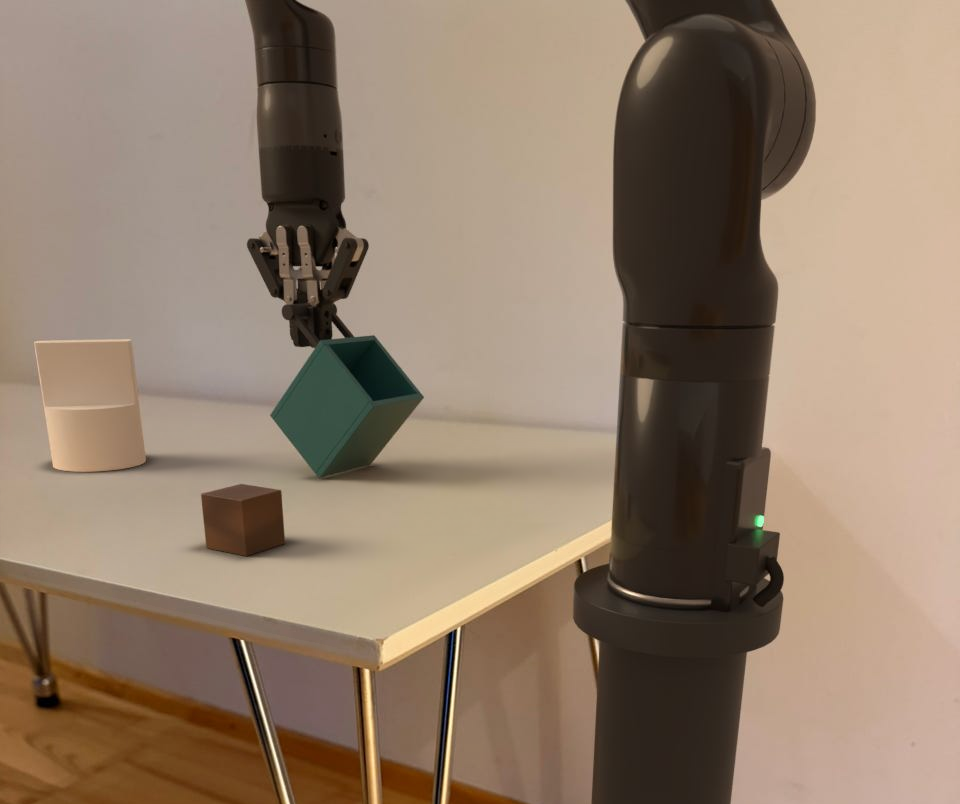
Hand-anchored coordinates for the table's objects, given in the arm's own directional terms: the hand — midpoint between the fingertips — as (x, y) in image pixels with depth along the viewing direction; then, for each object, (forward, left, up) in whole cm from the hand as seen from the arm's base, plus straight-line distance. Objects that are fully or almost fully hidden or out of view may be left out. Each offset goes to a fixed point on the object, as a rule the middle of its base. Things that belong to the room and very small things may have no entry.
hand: (312, 346), depth 94 cm
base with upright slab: (+21, +10, -12) cm, 26 cm away
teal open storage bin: (-7, 0, -8) cm, 11 cm away
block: (-14, +25, -12) cm, 31 cm away
